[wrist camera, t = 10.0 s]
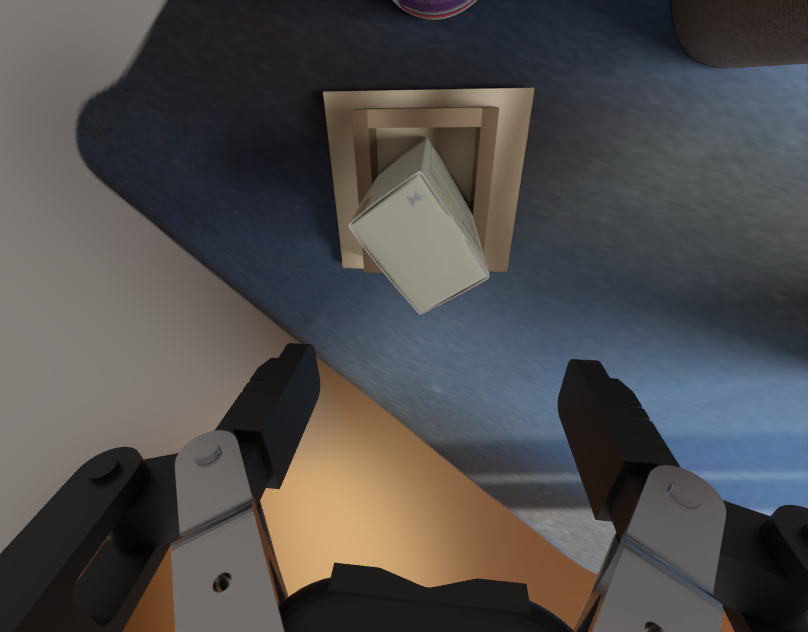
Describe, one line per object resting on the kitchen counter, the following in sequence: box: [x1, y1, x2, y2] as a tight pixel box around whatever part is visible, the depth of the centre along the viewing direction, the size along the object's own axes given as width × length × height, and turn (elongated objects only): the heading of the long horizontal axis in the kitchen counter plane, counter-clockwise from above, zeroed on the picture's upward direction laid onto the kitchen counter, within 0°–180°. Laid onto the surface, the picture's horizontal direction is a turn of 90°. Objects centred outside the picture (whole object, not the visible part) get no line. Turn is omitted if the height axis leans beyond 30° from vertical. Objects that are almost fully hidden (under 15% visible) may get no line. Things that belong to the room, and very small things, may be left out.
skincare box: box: [348, 137, 489, 314], centre depth 22 cm, size 6×4×12 cm
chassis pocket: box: [323, 88, 534, 273], centre depth 26 cm, size 14×13×4 cm
